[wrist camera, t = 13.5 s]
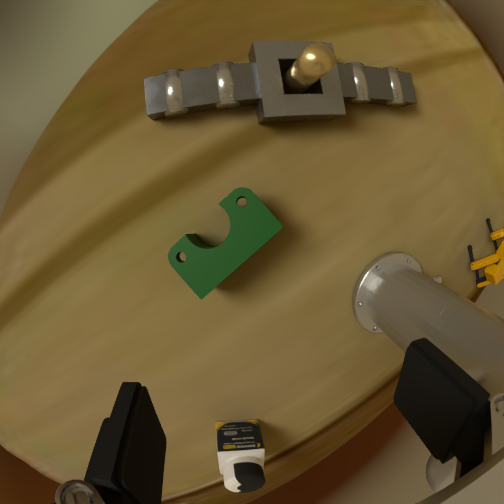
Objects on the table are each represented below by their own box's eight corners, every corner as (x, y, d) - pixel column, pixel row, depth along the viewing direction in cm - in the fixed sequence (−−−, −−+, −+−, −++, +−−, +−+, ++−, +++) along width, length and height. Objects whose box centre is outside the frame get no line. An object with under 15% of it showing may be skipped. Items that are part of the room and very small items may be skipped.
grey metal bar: (395, 63, 30) (410, 56, 27) (406, 122, 33) (424, 119, 29) (148, 69, 27) (140, 57, 23) (154, 139, 30) (147, 134, 26)
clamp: (235, 203, 37) (255, 172, 29) (266, 237, 38) (295, 216, 29) (164, 263, 33) (161, 247, 25) (197, 300, 34) (206, 298, 25)
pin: (301, 75, 30) (332, 43, 20) (305, 96, 31) (338, 71, 21) (277, 75, 30) (302, 41, 20) (281, 97, 30) (307, 70, 21)
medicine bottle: (258, 418, 42) (271, 474, 31) (257, 442, 44) (268, 494, 33) (215, 421, 41) (219, 478, 30) (217, 444, 43) (222, 497, 32)
